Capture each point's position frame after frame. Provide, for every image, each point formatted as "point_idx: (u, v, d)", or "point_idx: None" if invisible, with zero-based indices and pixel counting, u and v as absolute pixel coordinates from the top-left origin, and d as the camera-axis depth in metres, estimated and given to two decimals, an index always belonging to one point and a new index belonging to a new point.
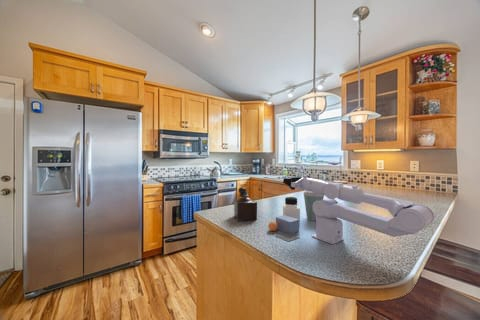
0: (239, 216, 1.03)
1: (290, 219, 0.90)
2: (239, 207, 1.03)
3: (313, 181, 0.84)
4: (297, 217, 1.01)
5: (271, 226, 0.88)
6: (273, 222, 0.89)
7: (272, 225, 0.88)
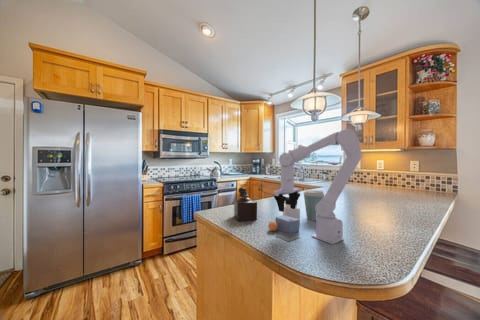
0: (239, 216, 1.03)
1: (290, 219, 0.90)
2: (239, 207, 1.03)
3: (281, 177, 0.90)
4: (297, 217, 1.01)
5: (271, 226, 0.88)
6: (273, 222, 0.89)
7: (272, 225, 0.88)
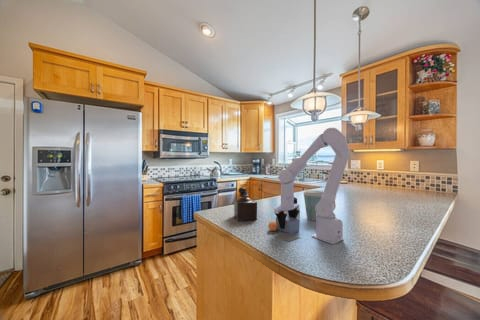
0: (239, 216, 1.03)
1: (290, 219, 0.90)
2: (239, 207, 1.03)
3: (281, 194, 0.90)
4: (297, 217, 1.01)
5: (271, 226, 0.88)
6: (273, 222, 0.89)
7: (272, 225, 0.88)
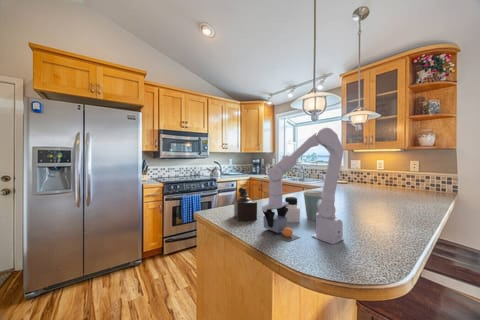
0: (239, 216, 1.03)
1: (278, 217, 0.88)
2: (239, 207, 1.03)
3: (270, 192, 0.87)
4: (297, 217, 1.01)
5: (283, 231, 0.82)
6: None
7: (283, 230, 0.83)
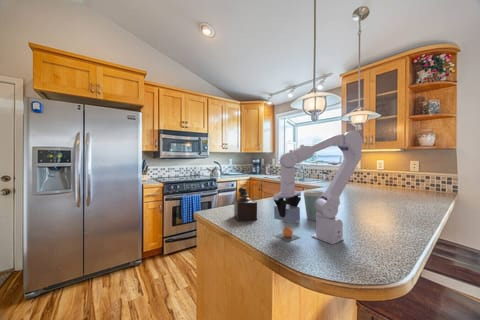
0: (239, 216, 1.03)
1: (290, 207, 0.82)
2: (239, 207, 1.03)
3: (283, 180, 0.81)
4: None
5: (283, 231, 0.82)
6: None
7: (283, 230, 0.83)
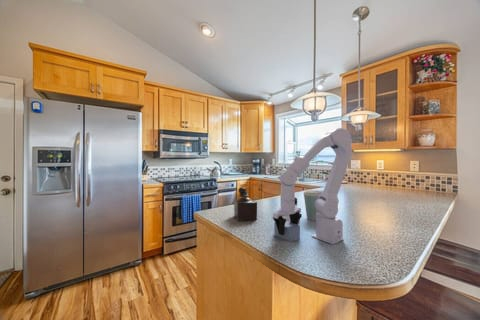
0: (239, 216, 1.03)
1: (290, 224, 0.82)
2: (239, 207, 1.03)
3: (282, 198, 0.81)
4: None
5: None
6: None
7: None
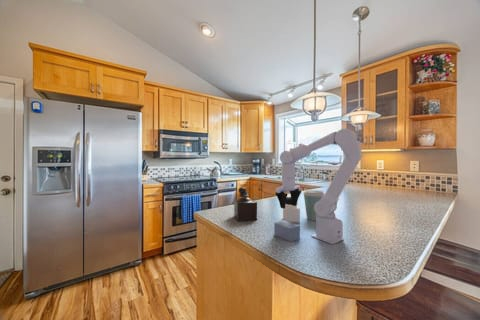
0: (239, 216, 1.03)
1: (290, 224, 0.82)
2: (239, 207, 1.03)
3: (282, 175, 0.92)
4: (297, 217, 1.01)
5: None
6: None
7: None
